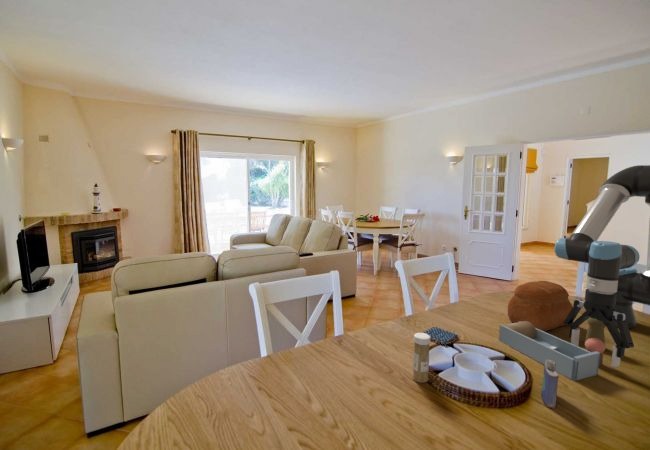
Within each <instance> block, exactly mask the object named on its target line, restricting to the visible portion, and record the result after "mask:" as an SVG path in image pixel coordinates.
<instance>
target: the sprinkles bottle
mask: <svg viewBox="0 0 650 450" xmlns="http://www.w3.org/2000/svg"><path fill="white" fill-rule="evenodd" d="M413 343H414V344H413V347H414V348H413V364H412V366H413V371H412V373H413V374H412V379H413V380H414V381H415V382H418V383H424V384H425V383H427V382H428V381H429V365H430V344H431V341H430V336H429V335H428V334H425V333H424V332H416V333H414V335H413Z"/></svg>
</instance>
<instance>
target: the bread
mask: <svg viewBox="0 0 650 450" xmlns="http://www.w3.org/2000/svg"><path fill="white" fill-rule="evenodd" d="M569 297H570V295H569V292H568V290H567V289H566V288H564V287H563V286H562V285H561V284H558V283H556V282H552V281H547V280H538V281H537V280H536V281H529V282H525V283H523V284H520V285H517V286H516V288H515V289H514V294H513V296H512V297H511V298H510V300H509V301H508V303H507V317H508V319H509V321H510V322H512V323H517V322H519V321H521V322H523V321H528V322H530V323H531V324H533V326H534V327H535V328H537V329H539V330H541V331H544V332H548V331H551V330H554V329H557V328H559V327H564V326H566V325H565V324H564V321H565V319H566V318H567V316H568V314H569V313H570V311H571V309H572V308H573V305H572V302H570V299H569Z"/></svg>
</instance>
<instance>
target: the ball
mask: <svg viewBox="0 0 650 450" xmlns="http://www.w3.org/2000/svg"><path fill="white" fill-rule="evenodd" d="M584 347H585V348H586V349H585V350H588V351H589V352H596V351H597V352H599V353H600V354H601V353H602V354H604V352H605V351H606V344H605V345H604V343H603V342H602V341H601V340H599V339H597V338H589V339H587V340H586V342H585V346H584ZM604 350H605V351H604Z"/></svg>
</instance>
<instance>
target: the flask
mask: <svg viewBox="0 0 650 450" xmlns="http://www.w3.org/2000/svg"><path fill="white" fill-rule="evenodd" d="M543 365H544V366H543V376H542V383H541V390H540V391H541V392H540V396H541V400H542V402H543V404H544V405H545V407H547V408H549V409H553V410H554V409H555V408H556V403H557V393H558V385H559V384H558V382H559V373H558V372H557V371H556V370H555V365H556V363H555V362H554V361H552V360H548V359H547V360H546V361H545V364H543Z"/></svg>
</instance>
